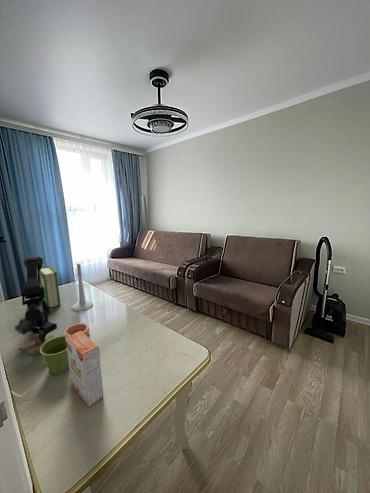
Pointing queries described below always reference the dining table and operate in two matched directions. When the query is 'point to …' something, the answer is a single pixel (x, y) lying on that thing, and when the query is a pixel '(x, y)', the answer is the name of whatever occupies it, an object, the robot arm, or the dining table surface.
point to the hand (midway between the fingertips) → (40, 340)
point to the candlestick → (81, 295)
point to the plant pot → (56, 354)
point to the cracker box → (84, 367)
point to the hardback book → (50, 286)
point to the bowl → (77, 329)
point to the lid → (35, 344)
